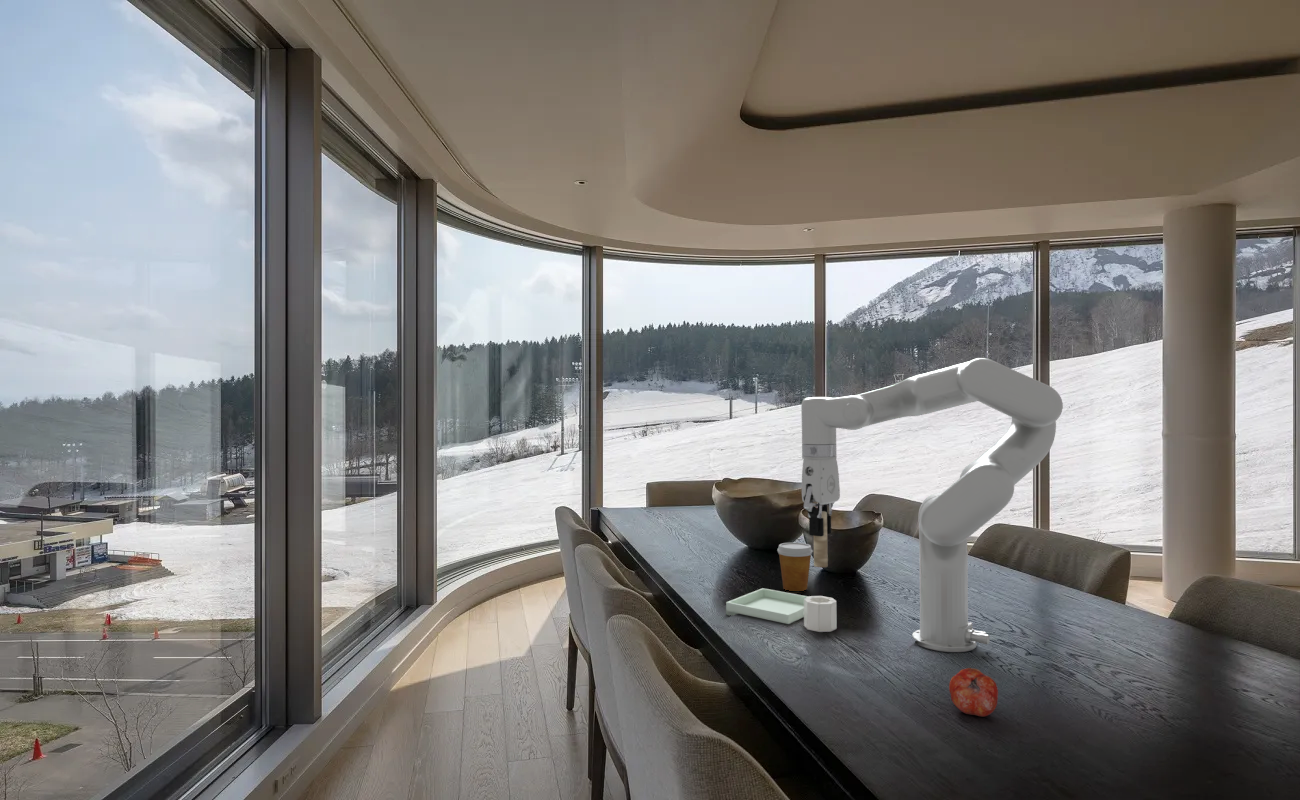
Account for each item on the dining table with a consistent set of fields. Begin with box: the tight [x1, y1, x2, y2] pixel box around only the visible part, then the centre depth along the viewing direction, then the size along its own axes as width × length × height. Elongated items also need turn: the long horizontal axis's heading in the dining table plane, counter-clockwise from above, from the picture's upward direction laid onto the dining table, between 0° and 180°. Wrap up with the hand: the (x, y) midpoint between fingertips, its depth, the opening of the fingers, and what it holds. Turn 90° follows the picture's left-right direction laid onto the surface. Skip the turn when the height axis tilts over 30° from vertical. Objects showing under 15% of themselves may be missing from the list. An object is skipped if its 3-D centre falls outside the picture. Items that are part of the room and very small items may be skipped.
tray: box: [725, 587, 809, 625], centre depth 177 cm, size 17×17×3 cm
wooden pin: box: [813, 511, 829, 568], centre depth 162 cm, size 3×3×12 cm
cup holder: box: [803, 595, 838, 633], centre depth 162 cm, size 7×7×7 cm
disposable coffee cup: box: [776, 542, 814, 592], centre depth 199 cm, size 10×10×12 cm
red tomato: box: [948, 667, 999, 717], centre depth 120 cm, size 7×7×10 cm
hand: (820, 533), depth 162 cm, fingers closed on wooden pin, 3 cm apart
